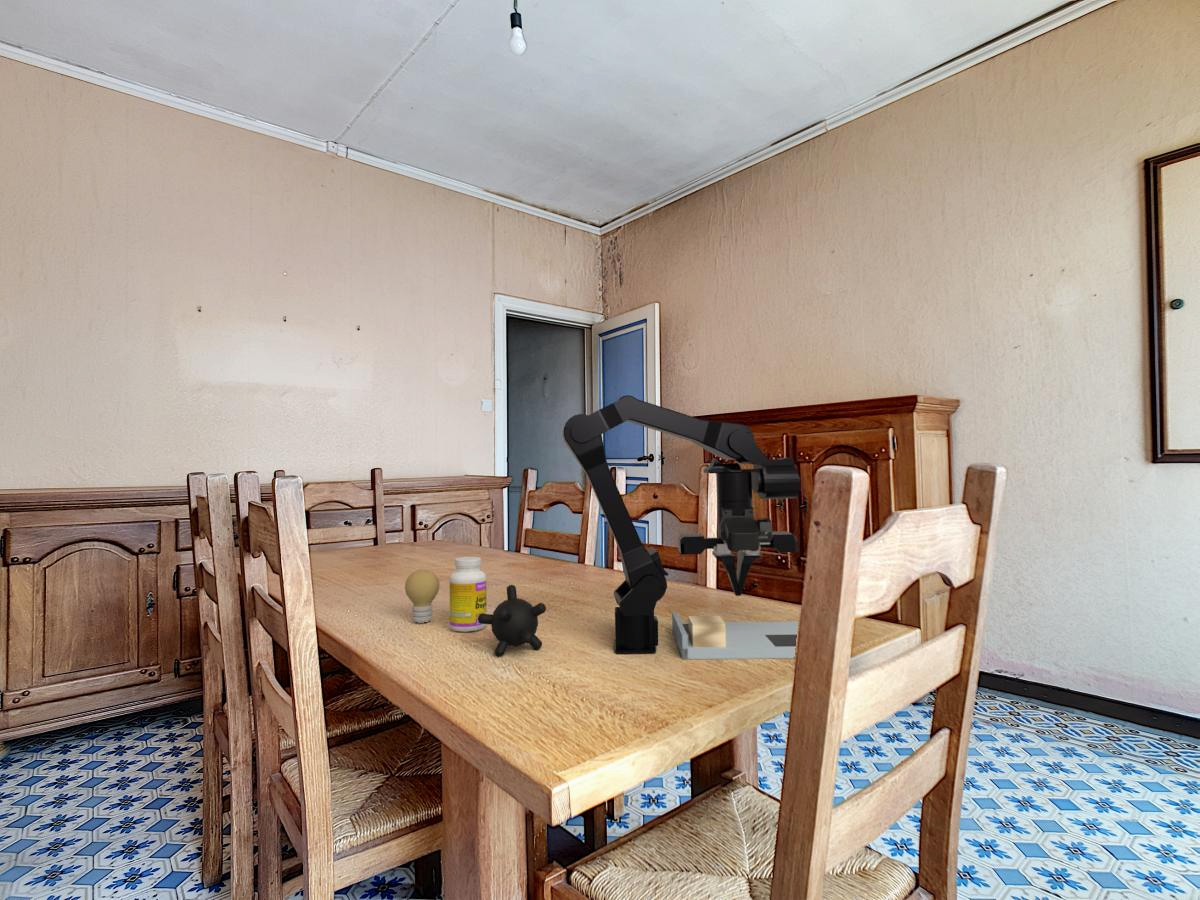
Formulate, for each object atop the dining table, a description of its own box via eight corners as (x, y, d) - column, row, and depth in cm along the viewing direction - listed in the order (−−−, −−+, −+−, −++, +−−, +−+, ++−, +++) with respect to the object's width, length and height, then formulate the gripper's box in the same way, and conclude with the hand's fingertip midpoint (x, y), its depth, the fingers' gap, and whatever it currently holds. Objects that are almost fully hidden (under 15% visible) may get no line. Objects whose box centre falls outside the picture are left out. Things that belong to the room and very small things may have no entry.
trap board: (682, 659, 92) (682, 635, 92) (672, 632, 107) (671, 611, 107) (835, 657, 92) (834, 633, 92) (803, 630, 107) (802, 609, 107)
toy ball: (482, 648, 89) (458, 611, 99) (524, 684, 94) (497, 645, 105) (534, 595, 92) (505, 564, 102) (572, 633, 97) (541, 600, 107)
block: (692, 647, 93) (692, 624, 93) (688, 638, 98) (688, 616, 98) (725, 647, 92) (725, 623, 93) (719, 637, 97) (719, 615, 98)
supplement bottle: (478, 634, 107) (477, 561, 108) (443, 632, 109) (442, 560, 109) (492, 624, 114) (491, 555, 114) (459, 623, 115) (458, 555, 116)
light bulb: (405, 619, 119) (404, 568, 119) (439, 616, 121) (438, 566, 121) (405, 627, 113) (404, 573, 113) (440, 624, 114) (440, 571, 115)
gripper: (682, 505, 92) (685, 608, 92) (806, 502, 92) (810, 606, 91) (676, 500, 104) (679, 592, 103) (787, 497, 103) (790, 590, 102)
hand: (737, 595), depth 100 cm, fingers closed
